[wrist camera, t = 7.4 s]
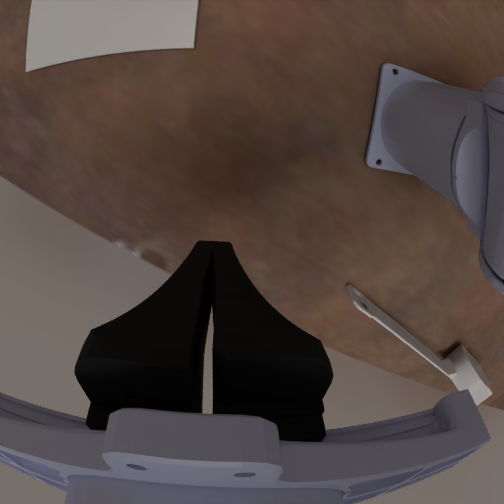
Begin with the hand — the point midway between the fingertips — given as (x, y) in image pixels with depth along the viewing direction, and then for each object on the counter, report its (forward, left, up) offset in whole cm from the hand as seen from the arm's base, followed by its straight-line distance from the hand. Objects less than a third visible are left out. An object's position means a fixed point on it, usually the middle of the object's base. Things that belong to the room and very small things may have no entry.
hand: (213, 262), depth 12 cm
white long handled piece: (-28, +18, -11) cm, 35 cm away
